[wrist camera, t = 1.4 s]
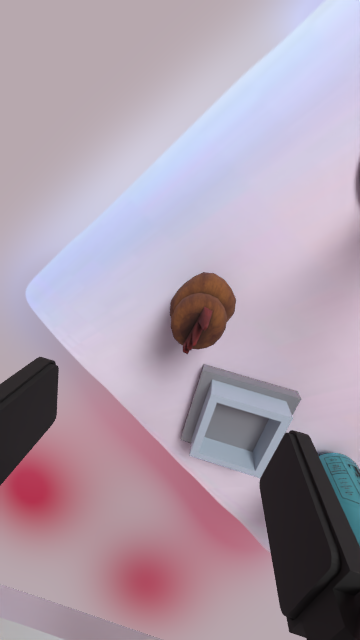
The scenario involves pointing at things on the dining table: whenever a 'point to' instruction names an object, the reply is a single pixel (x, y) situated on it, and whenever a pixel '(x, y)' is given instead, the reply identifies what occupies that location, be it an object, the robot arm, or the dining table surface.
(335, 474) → the beverage bottle
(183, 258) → the dining table surface
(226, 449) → the figurine dock
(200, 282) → the wooden figurine
